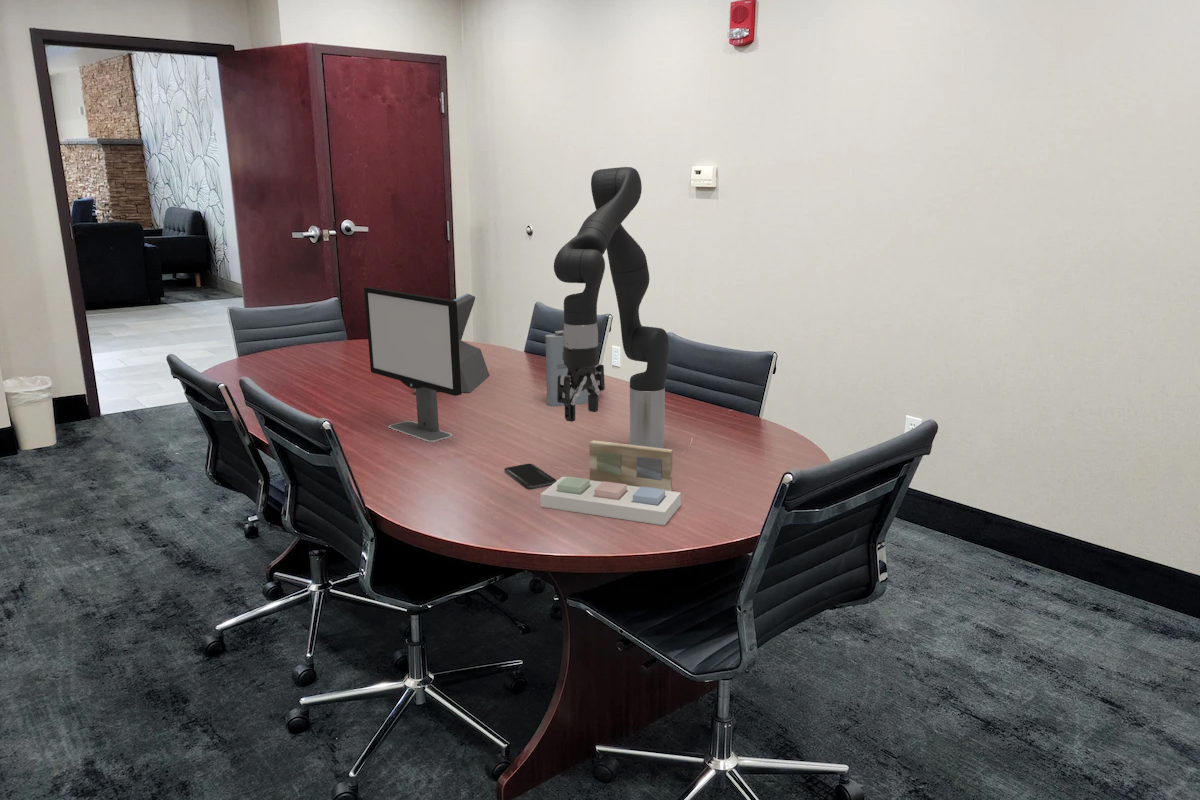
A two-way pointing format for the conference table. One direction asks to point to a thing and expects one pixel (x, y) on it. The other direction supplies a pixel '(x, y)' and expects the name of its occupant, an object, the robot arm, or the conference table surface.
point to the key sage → (573, 485)
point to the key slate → (649, 496)
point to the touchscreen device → (469, 350)
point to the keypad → (612, 504)
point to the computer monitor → (415, 351)
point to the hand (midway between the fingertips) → (581, 416)
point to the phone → (530, 476)
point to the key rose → (610, 490)
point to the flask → (558, 370)
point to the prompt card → (631, 465)
